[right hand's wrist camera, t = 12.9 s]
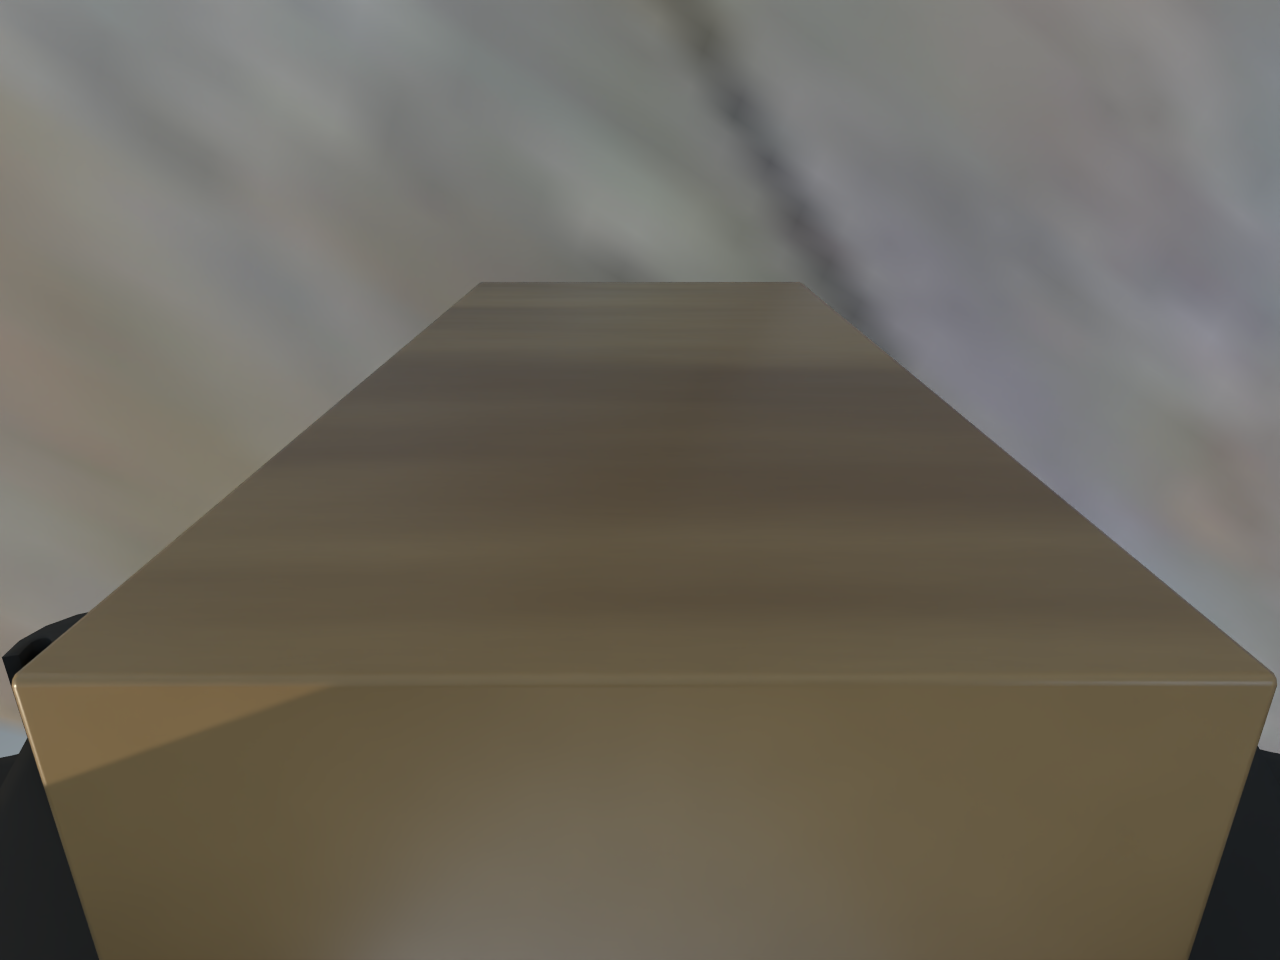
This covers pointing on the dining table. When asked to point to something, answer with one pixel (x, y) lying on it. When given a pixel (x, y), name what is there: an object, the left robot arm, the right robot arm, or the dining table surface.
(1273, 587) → the dining table surface
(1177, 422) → the dining table surface
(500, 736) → the box
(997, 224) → the dining table surface
